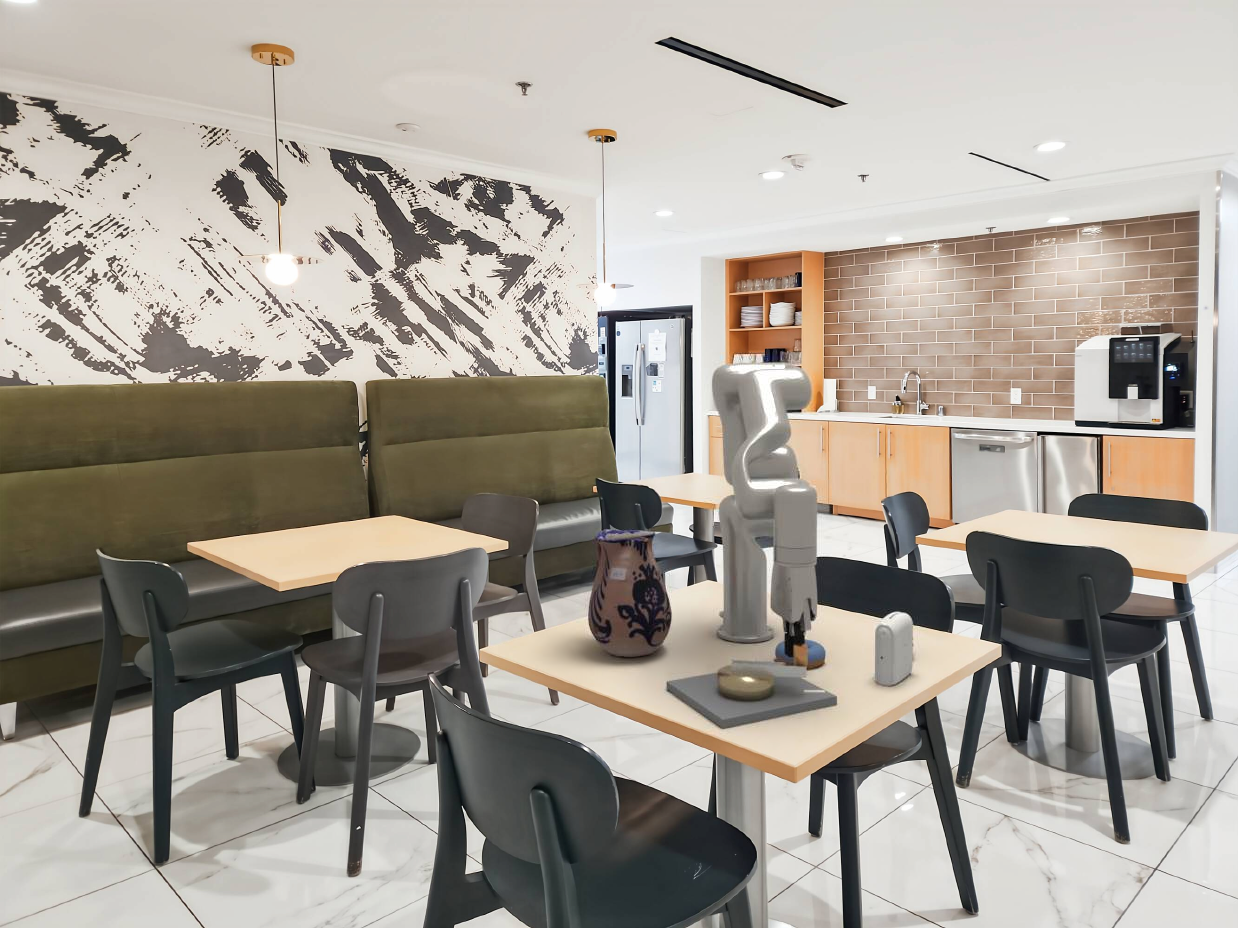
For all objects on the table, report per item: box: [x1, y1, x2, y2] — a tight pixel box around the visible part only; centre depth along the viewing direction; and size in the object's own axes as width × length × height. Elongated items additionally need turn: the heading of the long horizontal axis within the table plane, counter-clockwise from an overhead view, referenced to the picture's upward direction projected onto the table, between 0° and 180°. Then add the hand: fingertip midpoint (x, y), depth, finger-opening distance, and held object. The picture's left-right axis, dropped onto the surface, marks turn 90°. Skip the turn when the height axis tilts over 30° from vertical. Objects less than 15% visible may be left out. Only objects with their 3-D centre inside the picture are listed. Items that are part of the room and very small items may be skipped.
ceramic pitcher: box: [587, 528, 673, 658], centre depth 181 cm, size 18×21×25 cm
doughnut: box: [774, 639, 827, 669], centre depth 172 cm, size 10×10×5 cm
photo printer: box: [874, 611, 914, 687], centre depth 161 cm, size 10×4×12 cm, turn 140°
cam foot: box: [716, 643, 808, 700], centre depth 151 cm, size 16×10×8 cm, turn 79°
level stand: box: [666, 672, 838, 729], centre depth 154 cm, size 20×23×2 cm
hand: (794, 655), depth 153 cm, fingers closed
